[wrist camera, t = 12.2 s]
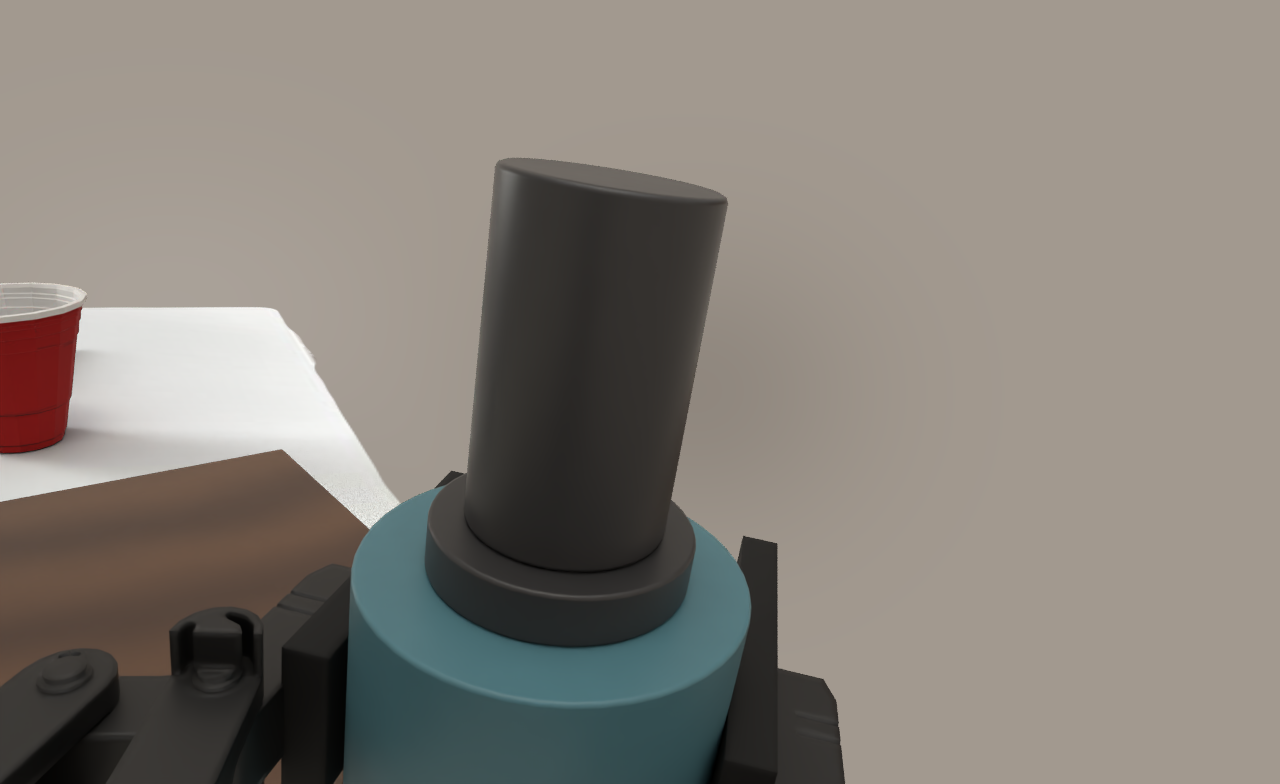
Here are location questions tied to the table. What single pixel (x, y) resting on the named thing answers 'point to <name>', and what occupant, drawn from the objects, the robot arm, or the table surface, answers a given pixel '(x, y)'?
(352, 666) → the capped bottle
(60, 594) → the coffee table
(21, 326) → the plastic cup
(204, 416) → the table surface
